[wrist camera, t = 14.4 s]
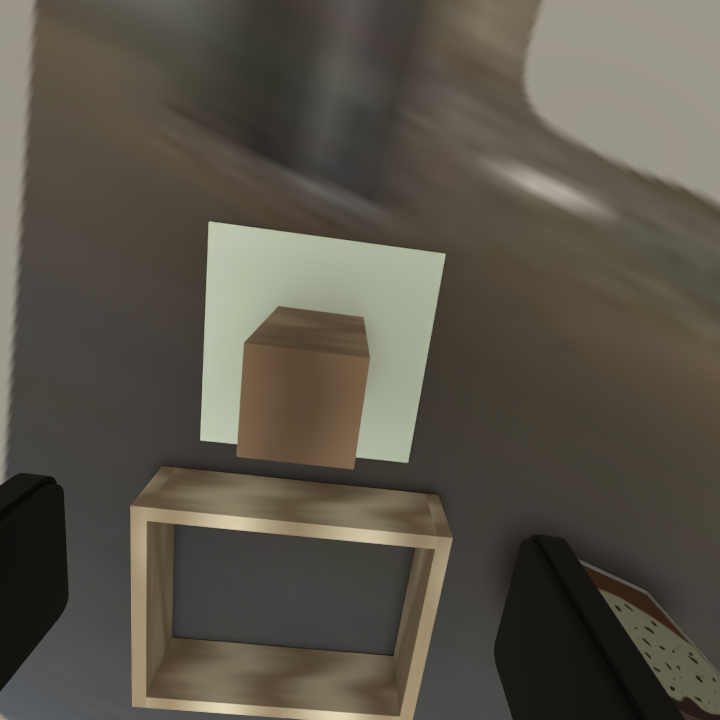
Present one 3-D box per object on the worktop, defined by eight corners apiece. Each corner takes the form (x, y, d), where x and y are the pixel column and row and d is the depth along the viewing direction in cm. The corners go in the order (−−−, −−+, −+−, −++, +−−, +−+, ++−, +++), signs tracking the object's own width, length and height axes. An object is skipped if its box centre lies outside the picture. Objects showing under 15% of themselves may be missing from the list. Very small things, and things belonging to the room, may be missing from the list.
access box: (438, 495, 27) (452, 537, 24) (403, 665, 31) (410, 727, 27) (162, 465, 26) (130, 505, 23) (159, 646, 30) (132, 706, 26)
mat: (443, 253, 23) (445, 254, 23) (407, 458, 27) (408, 462, 26) (211, 221, 23) (208, 221, 22) (203, 436, 26) (200, 440, 26)
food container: (460, 598, 30) (512, 774, 20) (511, 527, 28) (593, 680, 19) (609, 662, 32) (723, 852, 22) (664, 599, 30) (812, 771, 20)
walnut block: (363, 317, 24) (370, 358, 16) (352, 396, 25) (353, 469, 17) (278, 305, 24) (243, 342, 16) (271, 386, 25) (236, 456, 17)
